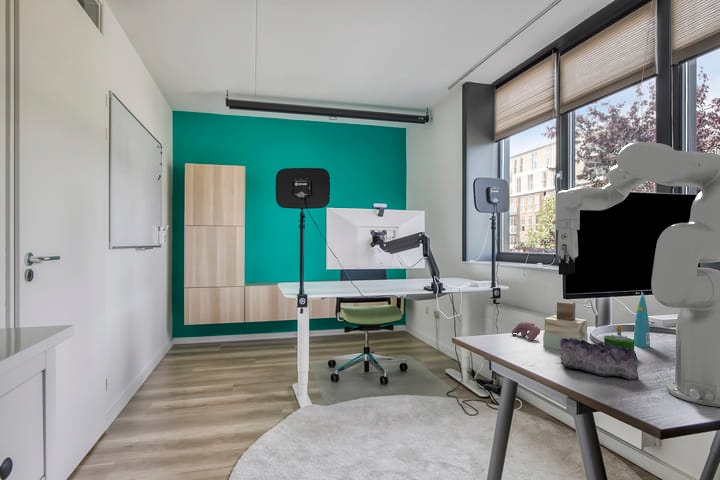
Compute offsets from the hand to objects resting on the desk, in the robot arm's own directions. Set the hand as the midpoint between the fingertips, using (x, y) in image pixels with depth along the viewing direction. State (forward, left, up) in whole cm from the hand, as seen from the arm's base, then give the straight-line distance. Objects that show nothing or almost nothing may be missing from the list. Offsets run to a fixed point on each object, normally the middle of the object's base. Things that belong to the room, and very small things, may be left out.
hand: (566, 273), depth 138 cm
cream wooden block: (0, 0, -21) cm, 21 cm away
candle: (0, -16, -26) cm, 30 cm away
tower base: (0, 0, -26) cm, 26 cm away
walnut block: (0, 0, -16) cm, 16 cm away
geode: (-22, -12, -26) cm, 36 cm away
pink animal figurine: (+3, +14, -26) cm, 30 cm away
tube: (+19, -21, -26) cm, 38 cm away
